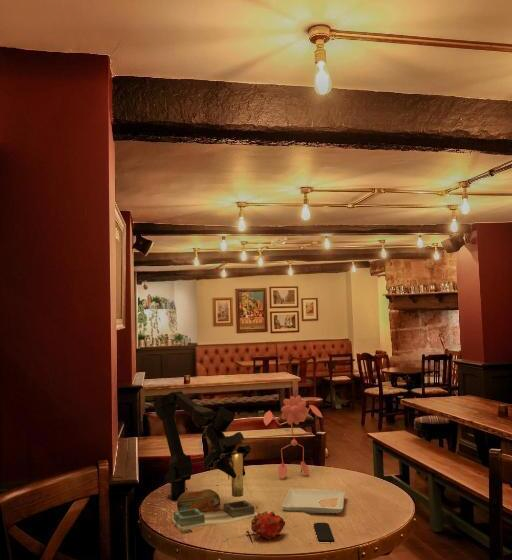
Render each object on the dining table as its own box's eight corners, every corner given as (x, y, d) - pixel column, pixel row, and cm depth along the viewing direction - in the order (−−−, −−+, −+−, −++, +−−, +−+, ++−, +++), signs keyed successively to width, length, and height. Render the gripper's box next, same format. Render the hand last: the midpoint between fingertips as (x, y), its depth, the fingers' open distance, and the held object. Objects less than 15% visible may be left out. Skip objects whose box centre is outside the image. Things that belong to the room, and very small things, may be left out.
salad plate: (343, 518, 193) (343, 507, 193) (281, 515, 197) (280, 505, 197) (346, 499, 214) (345, 490, 214) (289, 497, 218) (289, 488, 218)
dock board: (171, 522, 192) (171, 511, 192) (247, 509, 204) (247, 498, 204) (182, 533, 181) (182, 521, 182) (262, 518, 193) (261, 508, 194)
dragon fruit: (247, 545, 174) (282, 544, 179) (258, 535, 169) (294, 534, 173) (243, 517, 180) (277, 517, 184) (254, 506, 174) (289, 506, 179)
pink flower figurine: (261, 477, 246) (260, 395, 248) (317, 472, 253) (315, 392, 255) (273, 487, 231) (272, 400, 233) (331, 481, 239) (330, 396, 241)
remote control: (335, 546, 170) (328, 526, 185) (334, 540, 170) (328, 521, 185) (318, 546, 170) (313, 526, 185) (318, 540, 170) (313, 521, 185)
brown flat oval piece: (177, 518, 195) (177, 493, 196) (176, 516, 198) (176, 491, 199) (220, 514, 199) (220, 489, 200) (218, 511, 202) (218, 486, 203)
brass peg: (230, 494, 198) (229, 453, 200) (240, 492, 200) (239, 452, 201) (234, 497, 195) (233, 455, 196) (245, 495, 197) (244, 454, 198)
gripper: (208, 429, 195) (231, 467, 187) (247, 421, 209) (270, 457, 200) (194, 449, 200) (215, 487, 192) (233, 441, 214) (254, 476, 205)
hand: (239, 476), depth 197 cm, fingers closed on brass peg, 4 cm apart
